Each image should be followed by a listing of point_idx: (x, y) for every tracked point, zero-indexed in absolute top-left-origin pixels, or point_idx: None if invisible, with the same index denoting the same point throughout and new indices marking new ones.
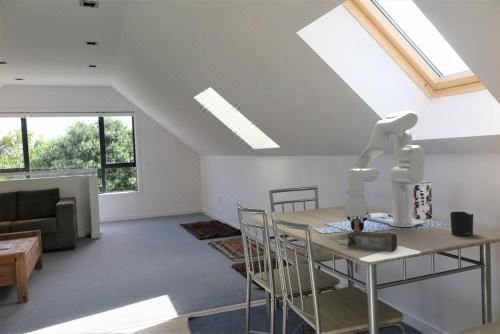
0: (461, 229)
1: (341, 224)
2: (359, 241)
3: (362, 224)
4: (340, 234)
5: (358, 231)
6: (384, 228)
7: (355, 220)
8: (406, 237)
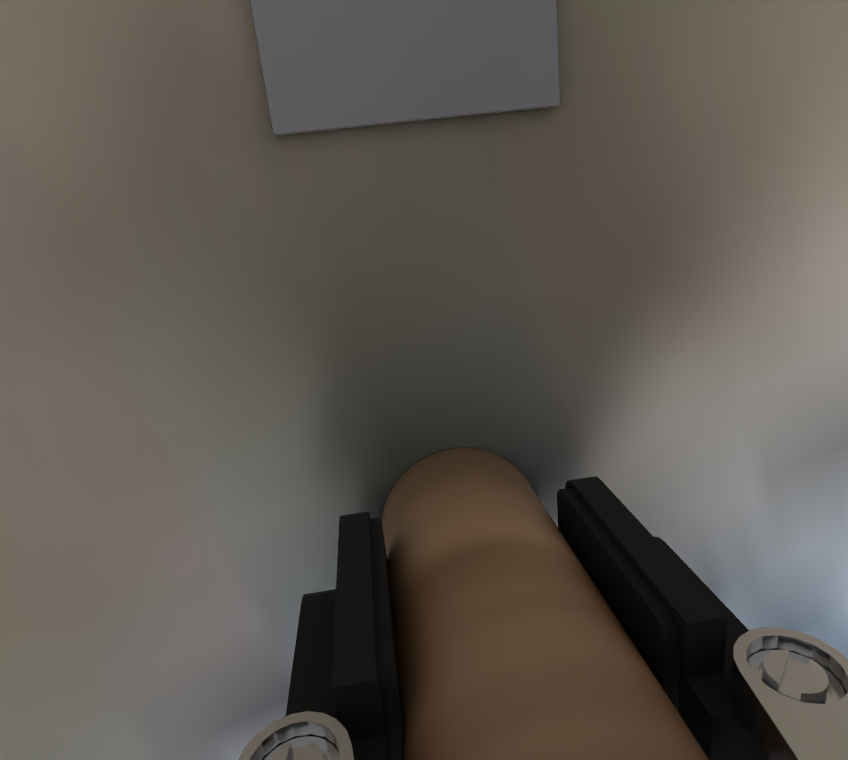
0: None
1: None
2: None
3: (311, 690)
4: (786, 252)
5: (421, 492)
6: None
7: (613, 727)
8: None
